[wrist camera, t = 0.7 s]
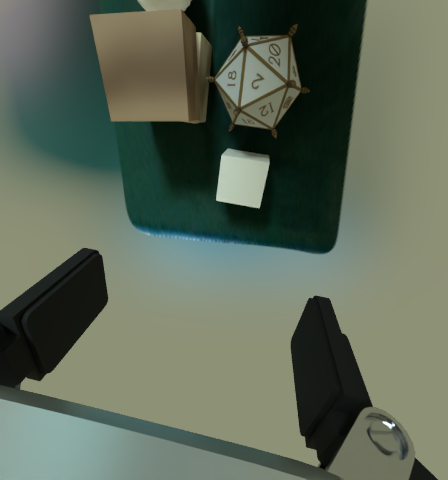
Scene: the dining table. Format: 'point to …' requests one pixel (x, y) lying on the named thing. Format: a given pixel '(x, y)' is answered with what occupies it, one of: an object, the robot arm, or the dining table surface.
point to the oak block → (203, 74)
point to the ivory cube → (242, 177)
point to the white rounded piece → (164, 4)
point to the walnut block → (148, 65)
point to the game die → (259, 80)
